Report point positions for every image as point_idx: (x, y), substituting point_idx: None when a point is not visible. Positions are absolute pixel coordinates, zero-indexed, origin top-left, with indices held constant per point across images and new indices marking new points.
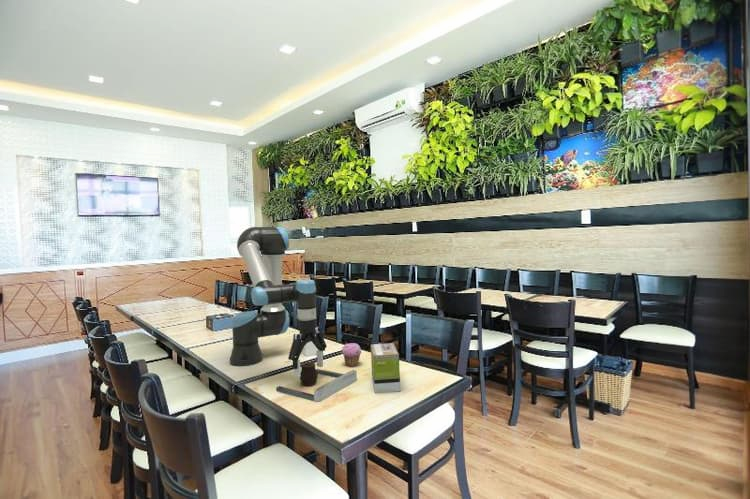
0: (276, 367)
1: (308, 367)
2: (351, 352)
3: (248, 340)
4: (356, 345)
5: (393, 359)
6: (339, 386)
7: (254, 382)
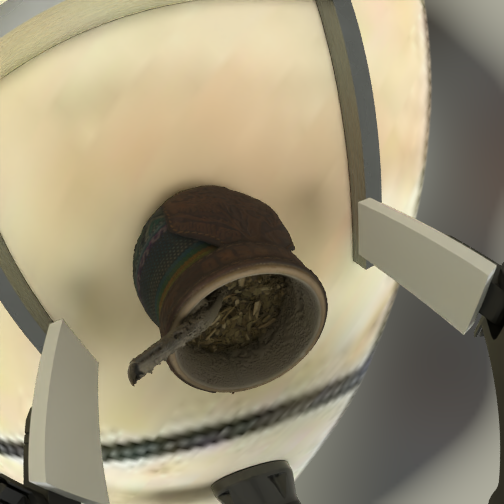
0: (214, 451)
1: (296, 262)
2: None
3: None
4: None
5: None
6: None
7: (341, 370)
